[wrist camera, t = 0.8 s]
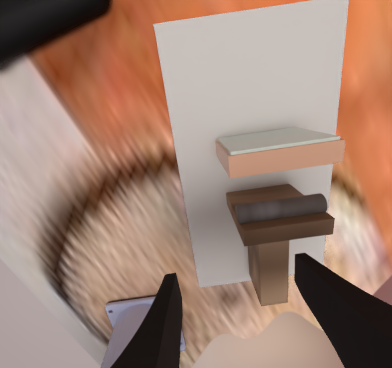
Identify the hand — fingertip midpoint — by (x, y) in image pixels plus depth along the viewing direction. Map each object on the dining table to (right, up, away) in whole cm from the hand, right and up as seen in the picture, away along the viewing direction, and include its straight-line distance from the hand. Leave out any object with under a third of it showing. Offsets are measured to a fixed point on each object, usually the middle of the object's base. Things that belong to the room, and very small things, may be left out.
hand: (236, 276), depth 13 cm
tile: (+3, +9, +6) cm, 11 cm away
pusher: (+4, +1, +9) cm, 10 cm away
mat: (+3, +6, +7) cm, 10 cm away
